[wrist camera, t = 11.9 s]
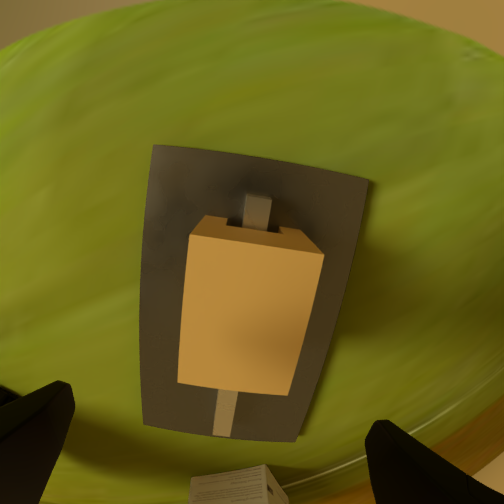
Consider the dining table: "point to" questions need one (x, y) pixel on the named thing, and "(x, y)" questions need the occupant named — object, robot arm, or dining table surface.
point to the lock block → (245, 306)
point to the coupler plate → (251, 217)
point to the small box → (237, 488)
